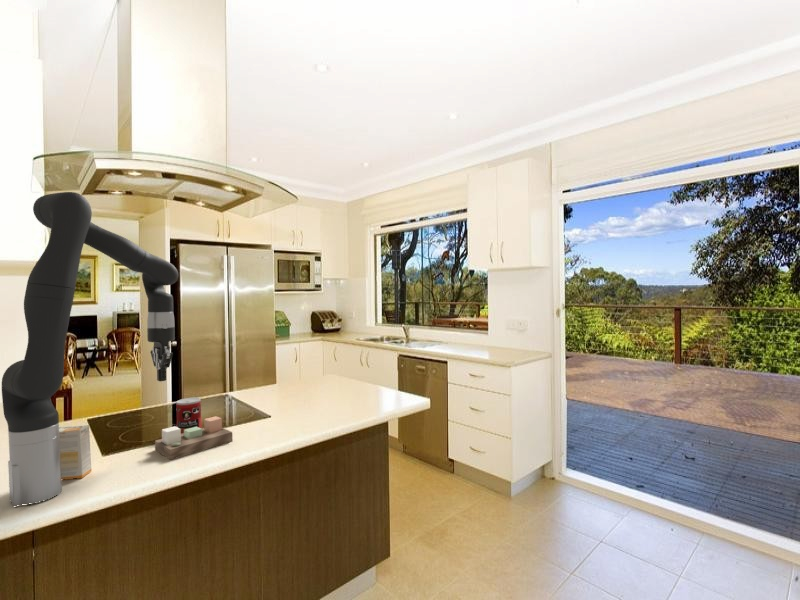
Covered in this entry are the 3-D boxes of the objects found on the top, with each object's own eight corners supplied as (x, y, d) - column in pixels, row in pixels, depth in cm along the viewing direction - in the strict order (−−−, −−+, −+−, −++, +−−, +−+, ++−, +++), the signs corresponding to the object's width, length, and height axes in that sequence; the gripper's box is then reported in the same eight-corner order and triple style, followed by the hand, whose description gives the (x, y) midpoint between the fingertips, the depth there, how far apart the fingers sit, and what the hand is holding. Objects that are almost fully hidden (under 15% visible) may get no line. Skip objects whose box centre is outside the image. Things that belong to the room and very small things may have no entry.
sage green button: (189, 444, 131) (189, 432, 131) (184, 442, 134) (183, 429, 134) (202, 441, 134) (202, 428, 134) (196, 438, 137) (196, 426, 137)
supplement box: (92, 471, 116) (90, 424, 115) (82, 478, 111) (80, 429, 111) (59, 473, 114) (57, 426, 114) (47, 481, 110) (45, 432, 109)
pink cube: (210, 433, 136) (209, 421, 136) (204, 431, 139) (204, 419, 139) (221, 430, 139) (221, 418, 139) (216, 427, 142) (215, 416, 142)
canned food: (174, 436, 143) (173, 404, 143) (180, 428, 150) (179, 398, 150) (199, 433, 145) (198, 402, 145) (203, 426, 153) (202, 396, 152)
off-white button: (167, 445, 126) (166, 432, 126) (162, 442, 129) (161, 429, 129) (181, 441, 129) (180, 428, 129) (175, 438, 132) (175, 426, 132)
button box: (170, 459, 122) (170, 447, 122) (155, 450, 130) (154, 438, 130) (232, 441, 137) (232, 430, 137) (215, 433, 145) (215, 423, 145)
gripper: (140, 326, 134) (141, 380, 134) (155, 327, 125) (156, 385, 125) (166, 324, 140) (166, 376, 140) (181, 326, 131) (182, 381, 131)
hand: (161, 380), depth 133 cm, fingers closed
